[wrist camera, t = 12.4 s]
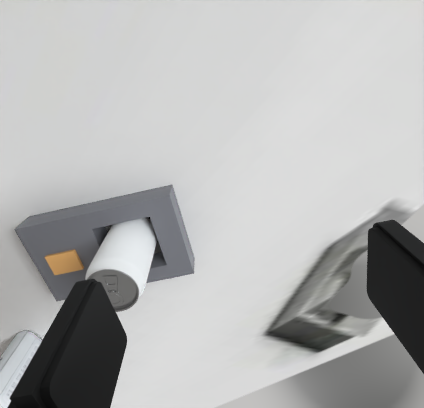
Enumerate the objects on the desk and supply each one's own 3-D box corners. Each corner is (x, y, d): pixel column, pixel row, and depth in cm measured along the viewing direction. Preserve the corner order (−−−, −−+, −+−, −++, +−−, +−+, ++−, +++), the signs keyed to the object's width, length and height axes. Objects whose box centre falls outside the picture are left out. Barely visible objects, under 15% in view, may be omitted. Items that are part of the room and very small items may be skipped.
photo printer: (9, 336, 49) (-48, 416, 38) (28, 325, 48) (-25, 404, 37) (54, 370, 53) (14, 452, 42) (72, 361, 52) (36, 442, 41)
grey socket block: (29, 216, 40) (12, 231, 36) (172, 184, 39) (169, 196, 35) (66, 284, 45) (55, 303, 41) (194, 258, 44) (193, 275, 40)
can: (115, 252, 43) (86, 316, 32) (108, 212, 40) (73, 267, 29) (159, 251, 43) (146, 314, 32) (156, 211, 40) (139, 265, 29)
